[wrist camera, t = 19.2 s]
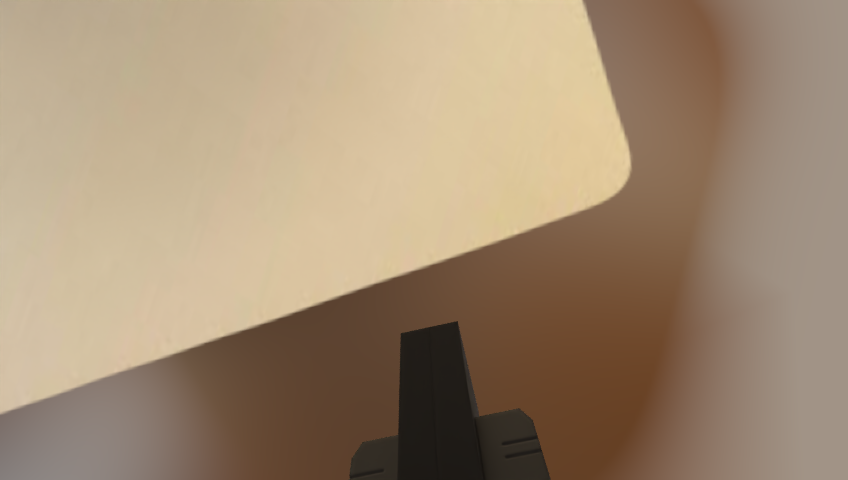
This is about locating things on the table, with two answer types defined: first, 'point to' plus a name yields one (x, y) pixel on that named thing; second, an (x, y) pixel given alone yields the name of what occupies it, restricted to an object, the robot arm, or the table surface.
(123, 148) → the table surface
